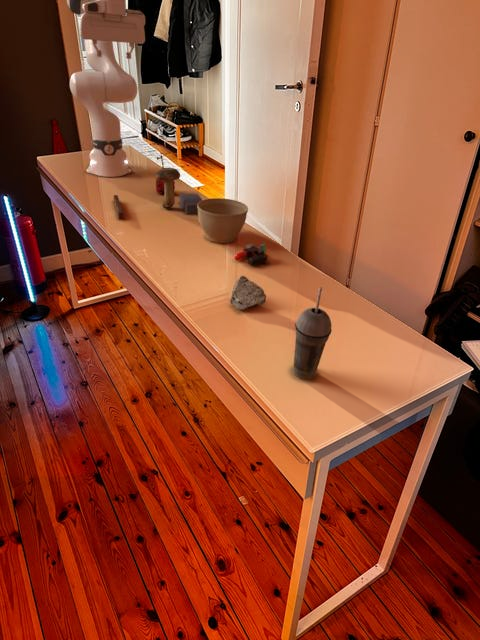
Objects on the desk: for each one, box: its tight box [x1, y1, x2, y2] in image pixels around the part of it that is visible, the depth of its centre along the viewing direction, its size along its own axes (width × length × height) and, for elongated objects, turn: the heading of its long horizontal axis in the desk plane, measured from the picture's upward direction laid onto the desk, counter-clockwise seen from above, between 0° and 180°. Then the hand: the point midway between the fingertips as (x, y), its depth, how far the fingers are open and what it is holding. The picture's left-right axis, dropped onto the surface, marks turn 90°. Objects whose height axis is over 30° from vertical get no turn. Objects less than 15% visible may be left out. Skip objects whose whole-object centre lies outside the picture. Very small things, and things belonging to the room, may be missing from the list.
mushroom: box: [155, 167, 181, 210], centre depth 171 cm, size 9×9×15 cm
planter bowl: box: [197, 197, 249, 244], centre depth 154 cm, size 16×16×11 cm
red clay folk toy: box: [155, 152, 176, 196], centre depth 186 cm, size 8×7×15 cm
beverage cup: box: [293, 286, 332, 381], centre depth 95 cm, size 7×7×20 cm
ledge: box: [112, 194, 124, 221], centre depth 169 cm, size 18×2×2 cm, turn 18°
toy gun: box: [233, 242, 269, 267], centre depth 144 cm, size 10×12×5 cm
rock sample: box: [229, 275, 267, 310], centre depth 121 cm, size 10×8×9 cm
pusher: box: [179, 193, 203, 215], centre depth 177 cm, size 12×7×4 cm, turn 18°
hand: (114, 57), depth 157 cm, fingers open, 8 cm apart
